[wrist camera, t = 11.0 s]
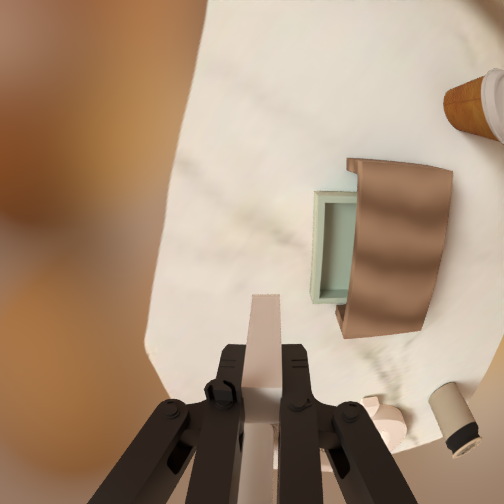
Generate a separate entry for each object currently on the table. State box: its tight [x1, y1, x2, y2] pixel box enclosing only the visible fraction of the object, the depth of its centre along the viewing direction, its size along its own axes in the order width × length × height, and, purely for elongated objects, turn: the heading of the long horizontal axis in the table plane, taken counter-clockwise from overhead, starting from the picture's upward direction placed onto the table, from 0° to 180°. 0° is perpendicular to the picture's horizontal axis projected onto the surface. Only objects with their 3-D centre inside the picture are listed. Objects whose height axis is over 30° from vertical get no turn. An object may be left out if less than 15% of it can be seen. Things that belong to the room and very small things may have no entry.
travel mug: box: [429, 383, 482, 458], centre depth 39 cm, size 8×8×18 cm
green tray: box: [310, 191, 357, 304], centre depth 33 cm, size 14×12×3 cm
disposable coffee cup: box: [443, 68, 504, 144], centre depth 20 cm, size 10×10×12 cm
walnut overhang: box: [335, 158, 453, 339], centre depth 32 cm, size 22×12×6 cm, turn 2°
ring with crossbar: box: [320, 396, 407, 472], centre depth 51 cm, size 28×28×5 cm
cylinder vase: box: [237, 423, 274, 504], centre depth 40 cm, size 12×12×25 cm
